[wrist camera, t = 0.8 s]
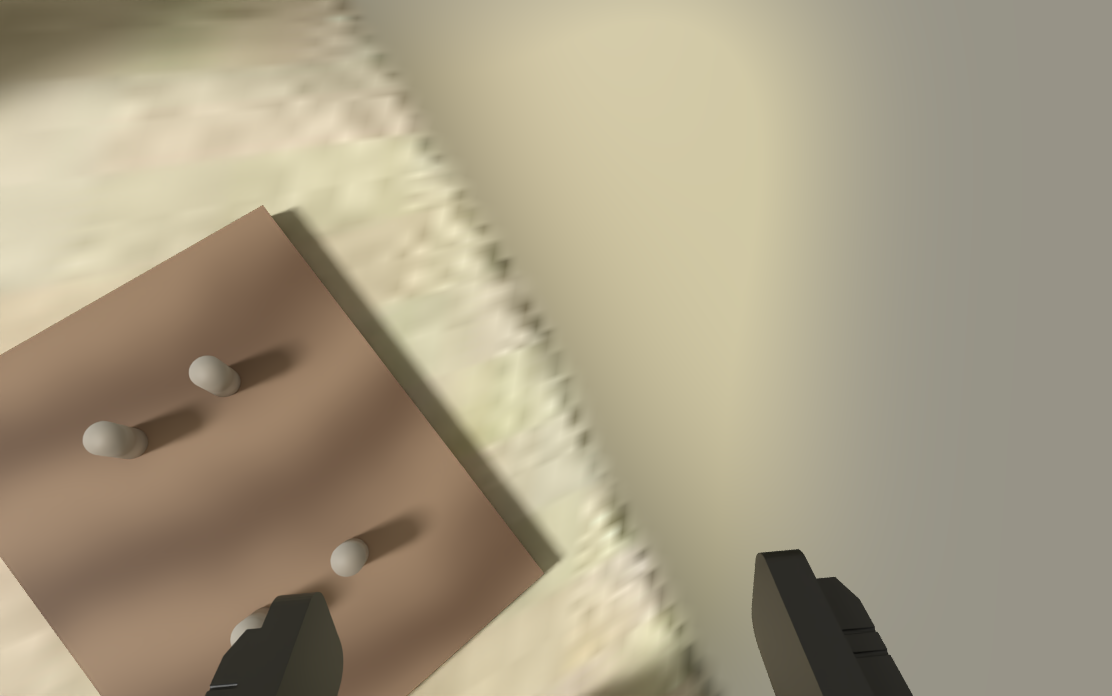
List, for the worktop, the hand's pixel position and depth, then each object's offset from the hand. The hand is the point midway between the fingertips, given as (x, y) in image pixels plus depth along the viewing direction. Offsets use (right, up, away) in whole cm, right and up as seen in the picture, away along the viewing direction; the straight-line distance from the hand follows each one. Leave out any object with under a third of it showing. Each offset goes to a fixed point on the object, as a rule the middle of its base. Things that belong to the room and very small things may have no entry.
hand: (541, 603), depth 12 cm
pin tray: (-12, -1, +15) cm, 19 cm away
